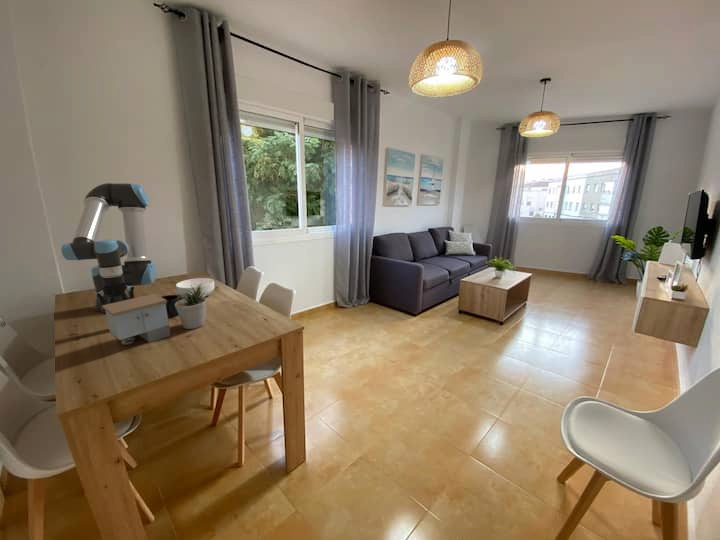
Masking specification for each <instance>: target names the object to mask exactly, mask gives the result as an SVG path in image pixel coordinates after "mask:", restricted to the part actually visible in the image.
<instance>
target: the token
mask: <svg viewBox="0 0 720 540" xmlns="http://www.w3.org/2000/svg"><path fill="white" fill-rule="evenodd" d="M120 342H121V345H122V346H128V345H132V344H134V343H135V342H136V338H135V337H134V336H132V337H128V338H125V339H122V340H120Z"/></svg>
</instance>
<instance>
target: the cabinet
mask: <svg viewBox="0 0 720 540" xmlns="http://www.w3.org/2000/svg"><path fill="white" fill-rule="evenodd" d="M165 303H167V300H166V299H164V298H162V296H159V294H156V293H152V294H146V295H143V296H139V297H138V296H137V297H134V298H133V299H129V300H124V301H120V302H115V303H111V304H106V305H102V307H103V309H104V310H105V311H106V315H105V316H106V320H107V324H108V329H109V332H110V333H111V334H112V335H113V336H114V337H115V338H117V339H118V340H119V341H122V340H123V339H125V338H130V337H134V336H137V335H138V336H140V337H141V338H142V339H144V340H145V341H146V342H148V343H149V344H150V343H153V342H156V341H160V340H162V339H165V338H168V337H171V329H170V322H169V318H168V316H167V310H166V304H165Z"/></svg>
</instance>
